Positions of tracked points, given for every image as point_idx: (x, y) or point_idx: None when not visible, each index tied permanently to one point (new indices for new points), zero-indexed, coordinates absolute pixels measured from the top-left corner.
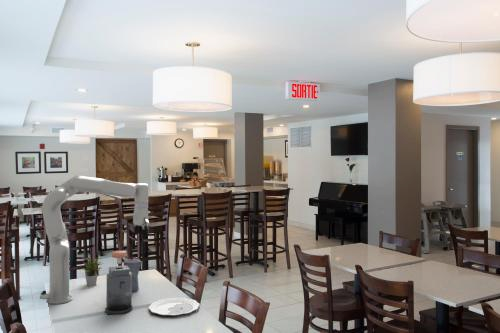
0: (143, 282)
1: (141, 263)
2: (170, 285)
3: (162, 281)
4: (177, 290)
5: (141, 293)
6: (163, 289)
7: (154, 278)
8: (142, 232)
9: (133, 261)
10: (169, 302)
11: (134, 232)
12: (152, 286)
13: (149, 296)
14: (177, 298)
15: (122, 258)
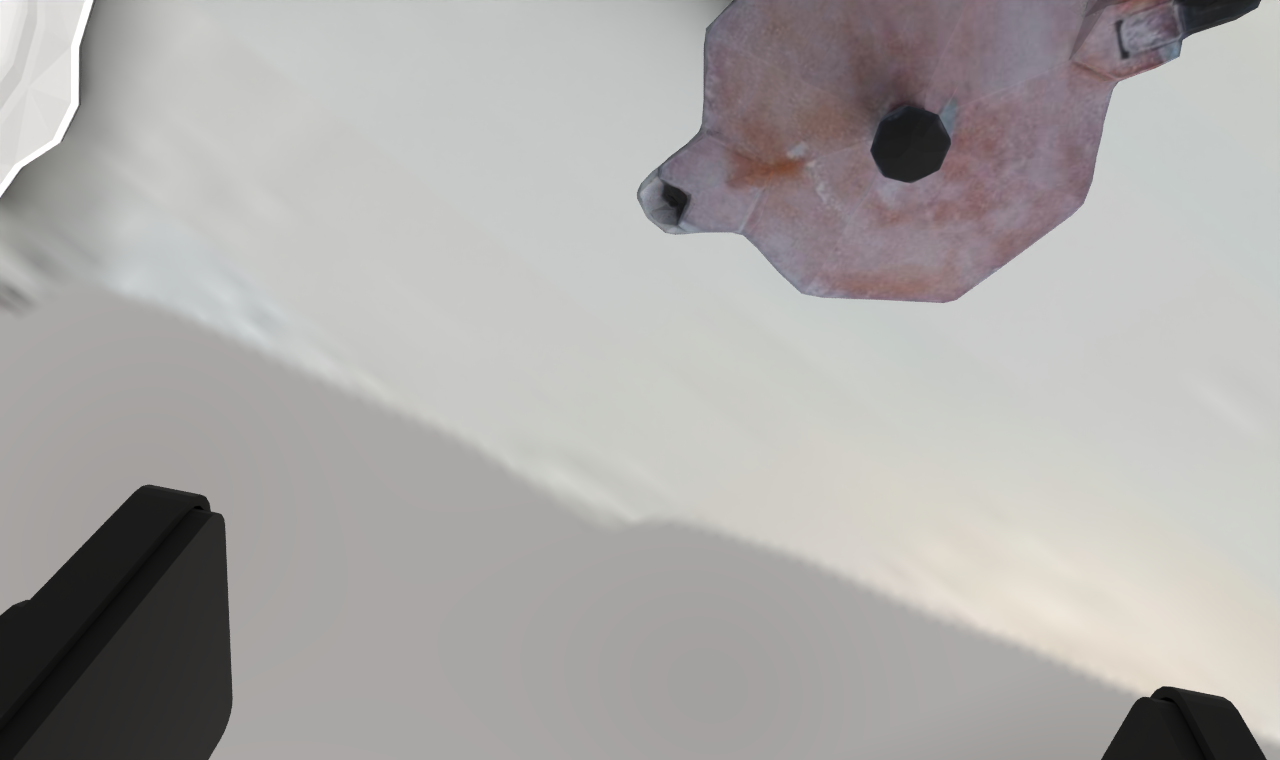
0: (995, 363)
1: (640, 188)
2: (609, 471)
3: (815, 520)
4: (390, 395)
5: (621, 31)
6: (543, 324)
7: (1000, 546)
8: (6, 638)
9: (775, 63)
10: (28, 19)
11: (1226, 747)
12: (754, 322)
13: (429, 19)
14: (21, 140)
15: (1228, 16)
